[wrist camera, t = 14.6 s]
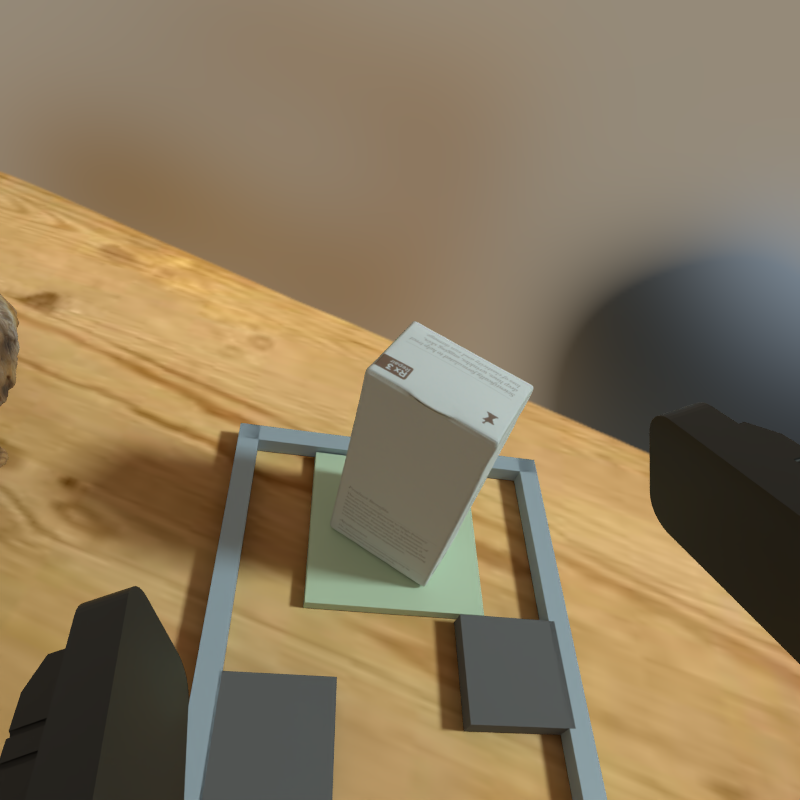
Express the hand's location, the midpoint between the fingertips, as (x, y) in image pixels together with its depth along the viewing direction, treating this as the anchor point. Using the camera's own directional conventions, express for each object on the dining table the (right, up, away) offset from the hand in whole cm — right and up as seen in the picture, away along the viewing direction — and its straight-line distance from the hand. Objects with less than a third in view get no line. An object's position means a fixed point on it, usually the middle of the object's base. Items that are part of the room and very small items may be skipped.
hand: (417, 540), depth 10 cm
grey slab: (+5, -11, +21) cm, 24 cm away
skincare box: (-1, -5, +24) cm, 25 cm away
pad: (-1, -5, +25) cm, 25 cm away
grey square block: (-6, -12, +17) cm, 21 cm away
